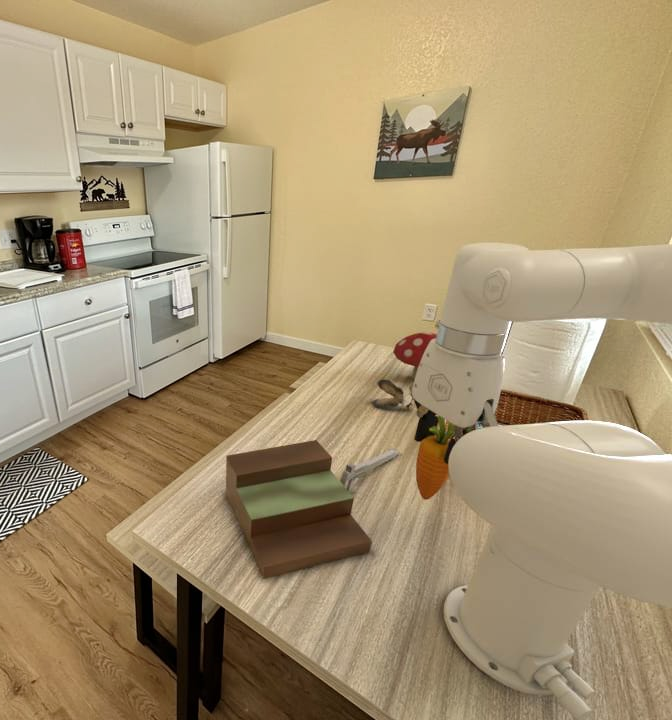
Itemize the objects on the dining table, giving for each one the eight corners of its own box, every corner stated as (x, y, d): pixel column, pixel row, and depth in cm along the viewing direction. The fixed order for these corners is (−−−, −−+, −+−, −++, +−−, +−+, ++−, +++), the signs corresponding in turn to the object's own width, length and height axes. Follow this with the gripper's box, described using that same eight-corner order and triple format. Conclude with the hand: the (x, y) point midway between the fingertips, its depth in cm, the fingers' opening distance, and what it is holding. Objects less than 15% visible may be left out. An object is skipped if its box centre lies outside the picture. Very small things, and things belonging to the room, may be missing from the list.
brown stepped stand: (369, 552, 61) (379, 509, 57) (263, 578, 57) (267, 534, 53) (311, 476, 77) (316, 439, 73) (225, 493, 73) (226, 455, 69)
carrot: (442, 515, 59) (467, 433, 53) (406, 503, 62) (426, 423, 56) (442, 495, 63) (466, 417, 57) (408, 484, 66) (428, 408, 60)
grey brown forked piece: (410, 396, 102) (375, 384, 105) (420, 384, 96) (383, 372, 99) (404, 421, 99) (368, 408, 102) (414, 409, 93) (376, 396, 96)
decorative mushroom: (455, 398, 103) (470, 346, 97) (390, 389, 109) (400, 339, 103) (443, 373, 117) (456, 326, 111) (386, 366, 122) (395, 321, 116)
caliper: (342, 497, 71) (347, 470, 69) (337, 494, 72) (342, 467, 70) (398, 454, 82) (404, 430, 80) (393, 451, 83) (399, 427, 81)
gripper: (399, 323, 58) (379, 424, 66) (508, 367, 43) (466, 493, 50) (440, 318, 60) (416, 418, 67) (560, 359, 45) (512, 482, 52)
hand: (438, 449), depth 59 cm, fingers closed on carrot, 5 cm apart
